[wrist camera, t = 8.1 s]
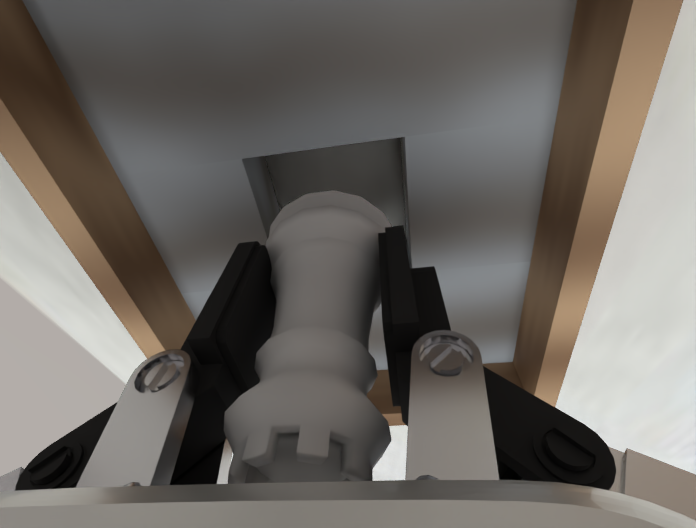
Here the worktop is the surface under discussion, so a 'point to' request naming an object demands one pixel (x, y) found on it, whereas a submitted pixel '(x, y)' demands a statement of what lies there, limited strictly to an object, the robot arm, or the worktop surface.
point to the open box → (334, 130)
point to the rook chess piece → (315, 350)
